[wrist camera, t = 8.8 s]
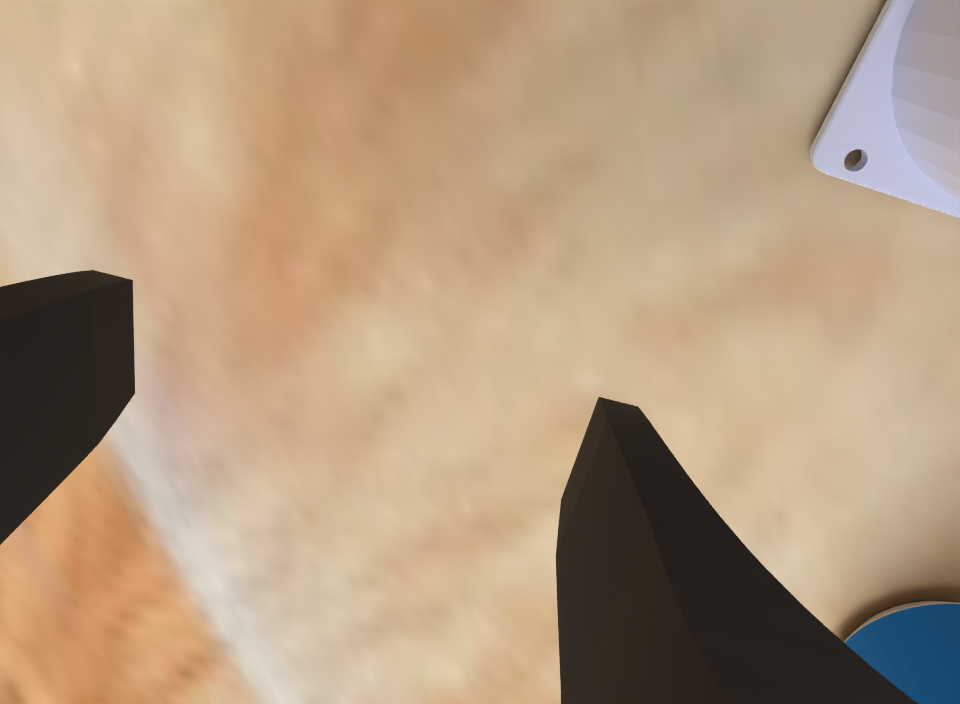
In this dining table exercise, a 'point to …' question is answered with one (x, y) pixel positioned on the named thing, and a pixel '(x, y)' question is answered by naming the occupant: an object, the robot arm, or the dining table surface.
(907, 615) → the beverage can
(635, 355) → the dining table surface
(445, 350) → the dining table surface
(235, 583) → the dining table surface
